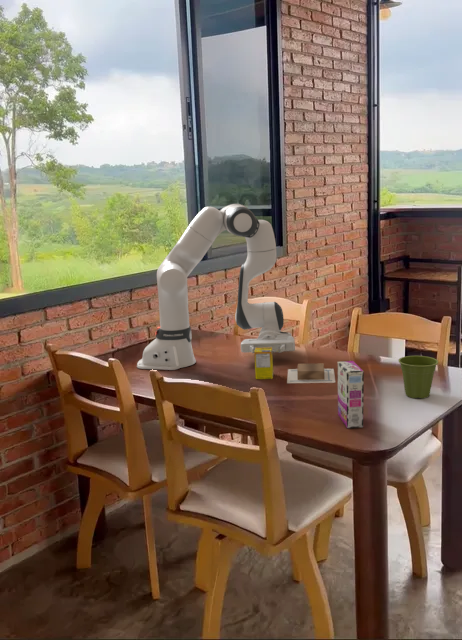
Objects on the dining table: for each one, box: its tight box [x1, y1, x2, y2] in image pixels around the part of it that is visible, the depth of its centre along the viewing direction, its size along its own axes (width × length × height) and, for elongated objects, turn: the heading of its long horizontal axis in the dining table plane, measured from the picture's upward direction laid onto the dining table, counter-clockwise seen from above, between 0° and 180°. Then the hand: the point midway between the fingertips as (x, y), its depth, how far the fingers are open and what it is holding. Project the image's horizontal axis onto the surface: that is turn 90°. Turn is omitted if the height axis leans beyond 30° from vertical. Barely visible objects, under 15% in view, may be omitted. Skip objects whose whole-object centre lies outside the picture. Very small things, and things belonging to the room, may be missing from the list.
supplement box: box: [253, 347, 274, 380], centre depth 229 cm, size 6×6×11 cm
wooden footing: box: [296, 362, 325, 380], centre depth 228 cm, size 9×9×3 cm
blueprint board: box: [286, 368, 336, 384], centre depth 228 cm, size 16×16×1 cm
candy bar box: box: [337, 360, 365, 429], centre depth 187 cm, size 11×5×16 cm, turn 5°
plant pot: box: [398, 355, 439, 399], centre depth 206 cm, size 12×12×11 cm
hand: (266, 350), depth 241 cm, fingers open, 8 cm apart
